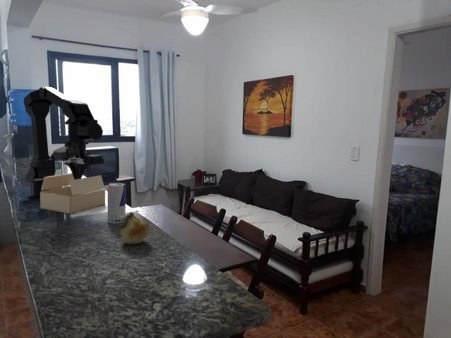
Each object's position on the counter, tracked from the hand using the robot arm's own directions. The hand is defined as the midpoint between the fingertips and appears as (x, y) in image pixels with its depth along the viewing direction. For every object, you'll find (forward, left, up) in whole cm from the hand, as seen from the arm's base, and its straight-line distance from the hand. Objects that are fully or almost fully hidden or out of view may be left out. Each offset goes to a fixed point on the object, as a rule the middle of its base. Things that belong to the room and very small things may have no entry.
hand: (77, 182), depth 118 cm
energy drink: (+22, -7, -9) cm, 25 cm away
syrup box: (-39, +25, -9) cm, 47 cm away
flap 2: (+4, 0, 0) cm, 4 cm away
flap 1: (-8, 0, 0) cm, 8 cm away
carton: (-2, 0, -9) cm, 9 cm away
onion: (+38, -20, -9) cm, 44 cm away
